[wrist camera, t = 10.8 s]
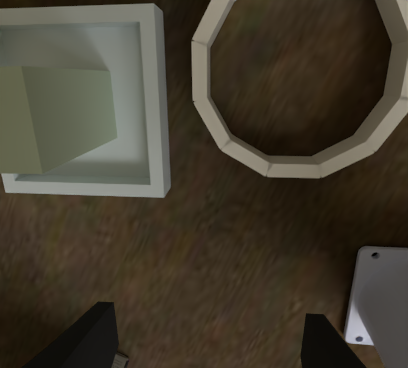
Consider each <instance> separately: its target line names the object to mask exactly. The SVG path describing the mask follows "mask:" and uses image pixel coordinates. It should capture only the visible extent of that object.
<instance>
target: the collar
mask: <svg viewBox="0 0 408 368" xmlns="http://www.w3.org/2000/svg"><path fill="white" fill-rule="evenodd" d="M235 1H236V0H211V2H210V4H209V6H208V8H207V10H206V12H205V14H204V16H203V18H202V20H201V22H200V24H199V26H198V28H197V30H196V32H195V34H194V36H193V38H192V40H193V41H191V43H192V95H193V101H195V102H193V103H194V105H195V107H196V109H197V110H198V112H199V114H200V116H201V117H202V119H203V121H204V123H205V124H206V126H207V128H208V130H209V131H210V133H211V135H212V137H213V138H214V140H215V142H216V144H217V145H218V147H219V149H221V148H222V149H221V151H223V152H224V153H226V154H228V155H230V156H231V157H233V158H235V159H236V160H238V161H240V162H241V163H243V164H245V165H247V166H248V167H250V168H252V169H253V170H255V171H257V172H259V173H260V174H262V175H264V176H266V175H267V177H288V178H320V176H321V177H322V178H323V177H325V176H327V175H329V174H331V173H333V172H336V171H338V170H340V169H342V168H344V167H346V166H348V165H350V164H352V163H354V162H357V161H359V160H361V159H363V158H365V157H367V156H369V155H371V154H373V153H374V151H377V150H378V149H379V147H380V146H381V145H382V144H383V142H384V141H385V140H386V139H387V137H388V136H389V135H390V134H391V132H392V131H393V130H394V129H395V127H396V126H397V125H398V124H399V122H400V121H401V120H402V119H403V118H404V116H405V115H406V114H407V113H408V0H375V2H376V4H377V7H378V10H379V12H380V15H381V17H382V20H383V22H384V25H385V27H386V30H387V33H388V35H389V38H390V40H391V43H392V48H391V54H390V60H389V66H388V72H387V77H386V83H385V89H384V95H383V97H382V98H381V99H380V101H379V102H378V103H377V105H376V106H375V107H374V108H373V110H372V111H371V112H370V114H369V115H368V116H367V118H366V119H365V120H364V122H363V123H362V124H361V126H360V127H359V128H358V130H357V131H356V132H355V134H354V135H353V136H351V137H349V138H347V139H345V140H343V141H341V142H339V143H337V144H335V145H333V146H331V147H329V148H327V149H325V150H323V151H321V152H319V153H317V154H315V155H313V156H268V155H266V154H264V153H262V152H261V151H259V150H257V149H256V148H254V147H252V146H251V145H249V144H247V143H246V142H244V141H242V140H240V139H239V138H237V137H235V136H234V135H232V134H231V132H230V131H229V129H228V127H227V125H226V123H225V122H224V120H223V118H222V116H221V114H220V113H219V111H218V109H217V107H216V105H215V104H214V102H213V100H212V98H211V96H210V47H211V45H212V44H213V42H214V40H215V38H216V36H217V34H218V32H219V30H220V28H221V26H222V24H223V22H224V21H225V19H226V17H227V15H228V13H229V11H230V9H231V7H232V5H233V3H234V2H235ZM373 150H374V151H373Z"/></svg>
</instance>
